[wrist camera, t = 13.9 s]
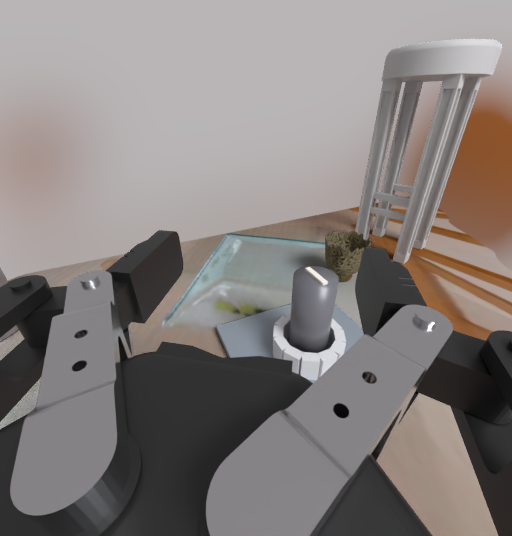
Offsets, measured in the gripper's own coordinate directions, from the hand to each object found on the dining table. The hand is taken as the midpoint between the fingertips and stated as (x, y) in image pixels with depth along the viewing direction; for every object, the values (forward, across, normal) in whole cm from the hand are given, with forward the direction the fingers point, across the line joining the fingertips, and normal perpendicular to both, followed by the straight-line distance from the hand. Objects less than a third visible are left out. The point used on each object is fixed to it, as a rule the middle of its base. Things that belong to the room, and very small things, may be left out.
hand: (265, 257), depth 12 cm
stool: (+49, -21, +23) cm, 58 cm away
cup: (+34, -9, +22) cm, 42 cm away
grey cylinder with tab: (+14, -4, +21) cm, 25 cm away
